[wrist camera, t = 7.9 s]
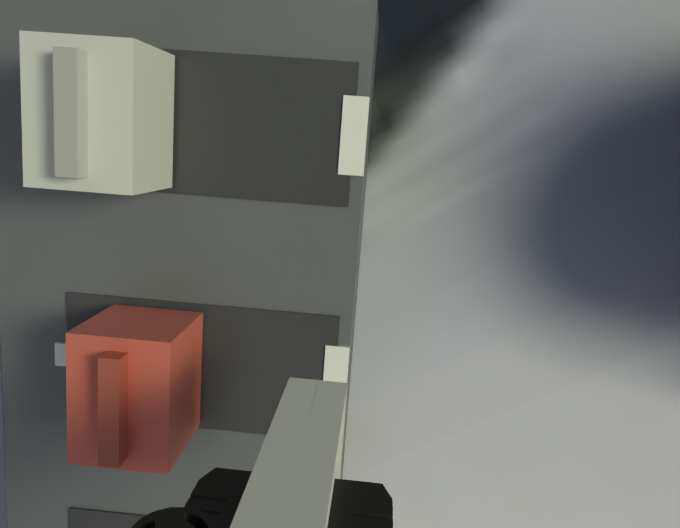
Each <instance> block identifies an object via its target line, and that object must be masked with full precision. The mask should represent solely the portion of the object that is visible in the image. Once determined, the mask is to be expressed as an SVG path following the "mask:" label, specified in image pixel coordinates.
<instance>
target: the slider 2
mask: <svg viewBox="0 0 680 528" xmlns="http://www.w3.org/2000/svg"><path fill="white" fill-rule="evenodd" d="M202 333H203V312H195V311H183V310H172V309H161V308H150V307H139V306H128V305H117V304H113V305H112V306H110V307H108V308H107V309H105V310H103V311H102V312H100V313H98V314H97V315H95V316H93V317H92V318H90V319H88V320H87V321H85V322H83V323H82V324H80V325H78V326H76V327H75V328H73V329H71V330H70V331H68V332H66V408H67V464H74V465H83V466H93V467H102V468H112V469H122V470H131V471H141V472H150V473H160V474H168V473H169V472H170V470H171V469H172V467H173V466H174V464H175V462H176V461H177V459H178V458H179V456H180V455H181V453H182V452H183V450H184V449H185V447H186V446H187V444H188V443H189V441H190V439H191V438H192V436H193V435H194V433H195V432H196V430H197V429H198V427H199V426H200V397H201V365H202Z"/></svg>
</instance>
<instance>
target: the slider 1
mask: <svg viewBox="0 0 680 528" xmlns="http://www.w3.org/2000/svg"><path fill="white" fill-rule="evenodd" d="M19 43H20V82H21V121H22V160H23V187H32V188H44V189H56V190H69V191H81V192H94V193H106V194H119V195H131V196H133V195H138V194H143V193H147V192H152V191H157V190H162V189H167V188H172V173H173V124H174V75H175V55H172V54H170V53H168V52H165V51H163V50H161V49H158V48H156V47H154V46H151V45H149V44H147V43H144V42H142V41H139V40H137V39H135V38H126V37H111V36H96V35H81V34H66V33H51V32H36V31H21V30H19Z"/></svg>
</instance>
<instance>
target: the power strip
mask: <svg viewBox="0 0 680 528" xmlns="http://www.w3.org/2000/svg"><path fill="white" fill-rule="evenodd" d="M378 26H379V25H378V0H0V336H1V366H2V395H3V424H4V453H5V482H6V512H7V528H131V527H132V526H133V525H134V524H135V523H136V522H137V521H138V520H139V519H140V518H142V517H144V516H146V515H148V514H150V513H152V512H154V511H157V510H161V509H165V508H169V507H184V506H185V504H186V502H187V501H188V499H189V498H190V495H191V493H192V491H193V489H194V488H195V486H196V484H197V482H198V480H199V479H200V478H202V477H203V476H205V475H206V474H207V473H209V472H210V471H211V470H213V469H214V468H215V467H217V468H226V469H235V470H244V471H252V470H253V468H254V465H255V463H256V460H257V458H258V455H259V453H260V450H261V448H262V445H263V443H264V440H265V438H266V435H267V433H268V430H269V428H270V425H271V422H272V420H273V417H274V415H275V412H276V410H277V407H278V405H279V402H280V400H281V397H282V395H283V392H284V390H285V387H286V385H287V382H288V380H289V377H293V378H303V379H313V380H323V381H333V382H343V383H348V386H347V398H346V410H345V422H344V434H343V446H342V459H341V471H340V479H342V473H343V461H344V448H345V436H346V423H347V411H348V398H349V386H350V374H351V361H352V349H353V336H354V324H355V311H356V299H357V287H358V274H359V262H360V249H361V237H362V224H363V212H364V200H365V187H366V175H367V162H368V150H369V137H370V125H371V113H372V100H373V88H374V75H375V63H376V50H377V38H378ZM19 30H21V31H36V32H51V33H66V34H81V35H96V36H111V37H126V38H135V39H137V40H139V41H142V42H144V43H147V44H149V45H151V46H154V47H156V48H158V49H161V50H163V51H165V52H168V53H170V54H172V55H175V75H174V124H173V173H172V188H167V189H162V190H157V191H152V192H147V193H143V194H138V195H133V196H131V195H119V194H106V193H94V192H81V191H69V190H56V189H44V188H32V187H23V160H22V121H21V82H20V43H19ZM113 304H117V305H128V306H139V307H150V308H161V309H172V310H183V311H195V312H203V333H202V365H201V397H200V426H199V427H198V429H197V430H196V432H195V433H194V435H193V436H192V438H191V439H190V441H189V443H188V444H187V446H186V447H185V449H184V450H183V452H182V453H181V455H180V456H179V458H178V459H177V461H176V462H175V464H174V466H173V467H172V469H171V470H170V472H169V473H168V474H160V473H150V472H141V471H131V470H122V469H112V468H102V467H93V466H83V465H74V464H67V408H66V332H68V331H70V330H71V329H73V328H75V327H76V326H78V325H80V324H82V323H83V322H85V321H87V320H88V319H90V318H92V317H93V316H95V315H97V314H98V313H100V312H102V311H103V310H105V309H107V308H108V307H110V306H112V305H113Z"/></svg>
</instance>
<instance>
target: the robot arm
mask: <svg viewBox="0 0 680 528" xmlns="http://www.w3.org/2000/svg"><path fill="white" fill-rule="evenodd" d="M347 386H348V383H343V382H333V381H323V380H313V379H303V378H293V377H289V380H288V382H287V385H286V387H285V390H284V392H283V395H282V397H281V400H280V402H279V405H278V407H277V410H276V412H275V415H274V417H273V420H272V422H271V425H270V428H269V430H268V433H267V435H266V438H265V440H264V443H263V445H262V448H261V450H260V453H259V455H258V458H257V460H256V463H255V465H254V468H253V470H252V471H244V470H235V469H226V468H217V467H215V468H214V469H213V470H211V471H210V472H209V473H207V474H206V475H205V476H203V477H202V478H200V479H199V480H198V482H197V484H196V486H195V488H194V489H193V491H192V493H191V495H190V498H189V499H188V501H187V502H186V504H185V506H184V507H169V508H165V509H161V510H157V511H154V512H152V513H150V514H148V515H146V516H144V517H142V518H140V519H139V520H138V521H137V522H136V523H135V524H134V525H133V526H132V527H131V528H393V519H392V517H393V507H392V498H391V496H390V495H389V493H388V492H387V490H386V489H385V487H384V486H383V484H380V483H370V482H361V481H352V480H343V479H340V471H341V459H342V446H343V434H344V422H345V410H346V398H347Z"/></svg>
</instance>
